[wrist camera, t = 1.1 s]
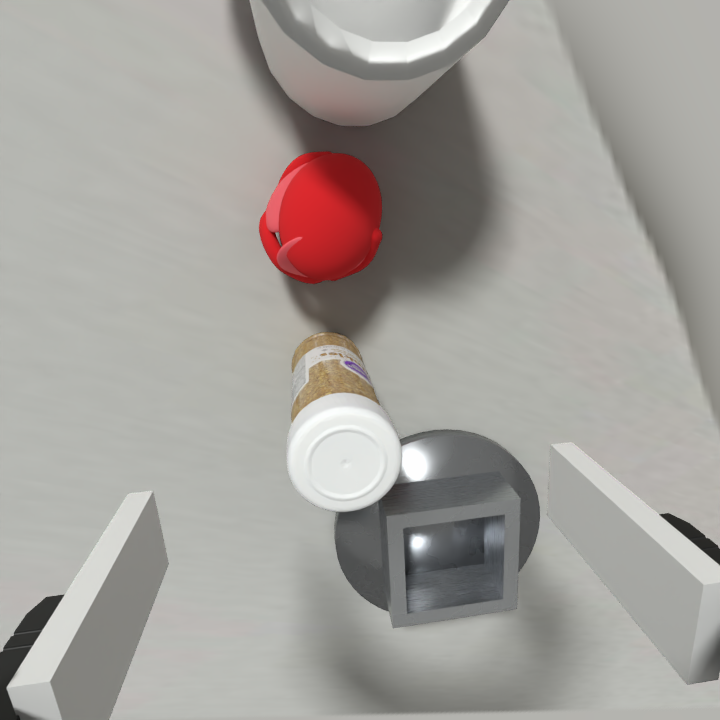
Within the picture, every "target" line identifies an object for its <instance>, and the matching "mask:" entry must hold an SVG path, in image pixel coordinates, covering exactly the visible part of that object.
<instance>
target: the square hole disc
mask: <svg viewBox="0 0 720 720" xmlns="http://www.w3.org/2000/svg"><path fill="white" fill-rule="evenodd" d="M400 443H401V447H402V464H401V469H400V473H399V475H398V478H397V479H396V481H395V483H394V485H393V486H392V488H391V489H390V490H389V491H388V492H387V493H386V494H385V495H384V496H383V497H382V498H381V499H380V500H378V501H377V502H375V503H373V504H372V505H370V506H367V507H365V508H362V509H359V510H355V511H349V512H336V517H335V525H334V529H335V544H336V551H337V557H338V560H339V563H340V566H341V569H342V571H343V573H344V575H345V576H346V578H347V580H348V581H349V583H350V584H351V585H352V587H353V588H354V589H355V590H356V591H357V592H358V593H359V594H360V595H361V596H362V597H364V598H365V599H366V600H368V601H369V602H370V603H372V604H374V605H376V606H377V607H379V608H381V609H383V610H386V611H389V614H390V618H391V622H392V627H393V628H398V627H404V626H411V625H417V624H423V623H430V622H436V621H443V620H449V619H455V618H462V617H468V616H475V615H481V614H487V613H494V612H500V611H507V610H513V609H517V593H518V572H519V571H520V569H521V568H522V567H523V565H524V564H525V562H526V561H527V559H528V557H529V555H530V553H531V551H532V549H533V546H534V544H535V541H536V537H537V534H538V530H539V521H540V506H539V501H538V495H537V492H536V489H535V487H534V484H533V482H532V480H531V478H530V476H529V474H528V473H527V472H526V470H525V469H524V468H523V466H522V465H521V464H520V463H519V462H518V461H517V460H516V458H515V457H514V456H512V455H511V454H510V453H509V452H508V451H507V450H506V449H505V448H503V447H502V446H501V445H499V444H498V443H496V442H494V441H492V440H490V439H488V438H486V437H484V436H481V435H478V434H475V433H471V432H466V431H461V430H433V431H427V432H422V433H418V434H414V435H411V436H408V437H405V438H403V439H400Z"/></svg>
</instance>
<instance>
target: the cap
mask: <svg viewBox="0 0 720 720" xmlns="http://www.w3.org/2000/svg"><path fill="white" fill-rule="evenodd" d="M381 216H382V200H381V193H380V189H379V186H378V183H377V181H376V179H375V177H374V175H373V173H372V172H371V171H370V169H369V168H368V167H367V166H366V165H365V164H364V163H363V162H362V161H360V160H359V159H357V158H355V157H353V156H350V155H347V154H341V153H331V152H310V153H306V154H303V155H301V156H299V157H297V158H296V159H295V160H293V161H292V162H291V163H290V165H289V166H288V167H287V168H286V170H285V171H284V173H283V175H282V177H281V179H280V181H279V184H278V186H277V187H276V189H275V190H274V192H273V194H272V196H271V198H270V200H269V203H268V205H267V209H266V211H265V212H264V214H263V215H262V217H261V219H260V224H259V233H260V237H261V241H262V244H263V246H264V249H265V251H266V253H267V255H268V256H269V258H270V260H271V261H272V263H273V264H274V265H275V266H276V267H277V268H278V269H279V270H280V271H281V272H283V273H284V274H286V275H288V276H290V277H292V278H294V279H296V280H298V281H301V282H304V283H310V284H316V283H319V282H322V281H325V280H331V281H336V280H338V279H341V278H344V277H346V276H349V275H352V274H354V273H357V272H359V271H361V270H362V269H364V268H365V267H367V266H368V265H369V263H370V262H371V261H372V260H373V258H374V256H375V254H376V252H377V250H378V247H379V244H380V242H381V240H382V232H381V230H380V229H379V227H380V222H381ZM275 232H279V235H280V240H281V244H282V247H281V246H280V244H279V242H278V240H277V237H276V234H275Z"/></svg>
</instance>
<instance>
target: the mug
mask: <svg viewBox="0 0 720 720" xmlns="http://www.w3.org/2000/svg"><path fill="white" fill-rule="evenodd" d="M508 1H509V0H250V4H251V9H252V13H253V17H254V22H255V26H256V30H257V35H258V39H259V42H260V44H261V47H262V50H263V53H264V56H265V58H266V61H267V64H268V67H269V70H270V72H271V73H272V75H273V76H274V77H275V79H276V80H277V82H278V83H279V84H280V86H281V87H282V89H283V90H284V91H285V93H286V94H287V96H288V97H289V98H290V99H291V100H293V101H294V102H295V103H296V104H298V105H299V106H300V107H302V108H303V109H304V110H306V111H307V112H308V113H309V114H311V115H312V116H313V117H316V118H319V119H322V120H325V121H328V122H331V123H333V124H336V125H339V126H370V125H372V124H375V123H378V122H381V121H383V120H386V119H389V118H392V117H394V116H396V115H397V114H398V113H399V112H401V111H402V110H403V109H404V108H406V107H407V106H408V105H409V104H410V103H412V102H413V101H414V100H415V99H417V98H418V97H419V96H420V95H421V94H422V93H423V92H424V91H425V90H427V89H428V88H429V87H430V86H431V85H432V84H433V83H434V82H435V81H437V80H438V79H439V78H440V77H441V76H442V75H443V74H444V73H445V72H447V71H448V70H449V69H450V68H451V67H452V66H453V65H454V64H455V63H456V62H458V61H459V60H460V59H461V58H462V57H463V56H464V55H465V54H466V53H468V52H469V51H470V50H471V49H472V48H473V47H474V46H475V45H476V44H478V43H479V42H480V41H481V40H482V39H483V38H484V37H485V36H486V35H487V33H488V32H489V30H490V29H491V27H492V26H493V24H494V23H495V21H496V20H497V18H498V17H499V15H500V14H501V12H502V11H503V9H504V8H505V6H506V5H507V3H508Z"/></svg>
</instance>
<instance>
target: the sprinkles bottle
mask: <svg viewBox="0 0 720 720" xmlns="http://www.w3.org/2000/svg"><path fill="white" fill-rule="evenodd" d="M292 373H293V377H292V405H291V420H292V425H291V427H290V430H289V433H288V438H287V469H288V474H289V477H290V480H291V482H292V484H293V486H294V487H295V489H296V490H297V492H298V493H299V494H300V495H301V496H302V497H303V498H304V499H306V500H307V501H308V502H310V503H311V504H313V505H314V506H317V507H319V508H322V509H325V510H328V511H334V512H349V511H355V510H359V509H362V508H365V507H367V506H370V505H372V504H373V503H375V502H377V501H378V500H380V499H381V498H382V497H383V496H384V495H385V494H386V493H387V492H388V491H389V490H390V489H391V488H392V486H393V485H394V483H395V481H396V479H397V478H398V475H399V473H400V469H401V464H402V447H401V443H400V440H399V437H398V434H397V432H396V429H395V427H394V425H393V423H392V421H391V419H390V417H389V415H388V414H387V413H386V412H385V410H384V409H383V408H382V407H381V406H380V404H379V402H378V400H377V398H376V395H375V393H374V388H373V385H372V383H371V381H370V378H369V376H368V373H367V371H366V369H365V366H364V364H363V363H362V358H361V355H360V353H359V350H358V349H357V347H356V346H355V345H354V343H353V342H352V341H351V340H350V339H348V338H347V337H346V336H344V335H341V334H338V333H334V332H320V333H317V334H314V335H312V336H310V337H309V338H307V339H306V340H304V341H303V342H302V343H301V344H300V345H299V347H298V348H297V349H296V351H295V354H294V357H293V360H292Z"/></svg>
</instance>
